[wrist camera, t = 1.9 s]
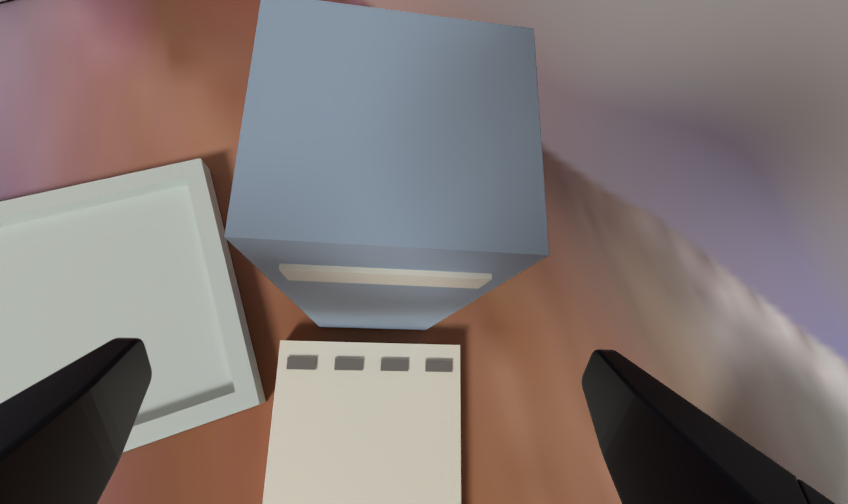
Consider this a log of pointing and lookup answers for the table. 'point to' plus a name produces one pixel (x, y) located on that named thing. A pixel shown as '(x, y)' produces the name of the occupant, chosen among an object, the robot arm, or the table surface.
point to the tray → (129, 292)
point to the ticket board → (365, 424)
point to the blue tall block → (387, 162)
